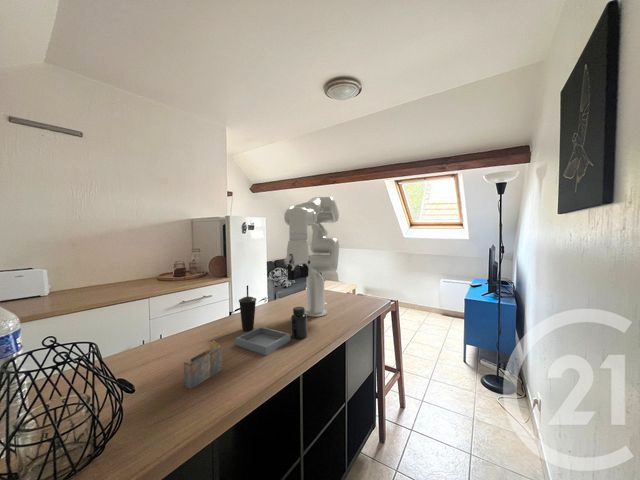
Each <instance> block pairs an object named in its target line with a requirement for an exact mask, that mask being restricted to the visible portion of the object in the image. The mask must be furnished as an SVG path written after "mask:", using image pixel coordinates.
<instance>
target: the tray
mask: <svg viewBox="0 0 640 480" xmlns="http://www.w3.org/2000/svg"><path fill="white" fill-rule="evenodd" d="M291 338H292V336H291V333H288V332H285V331H280V330H278V329H277V330H276V329H273V328H268V327H265V326H263V325H262V326H261V325H260V326H259V327H257V328H255V329H253V330H252V331H248V332H244V333H243V334H240V335H239V336H237V337H235V346H236V347H238V348H239V347H240V348H243V349H246V350H248V351H251V352H253V353H257V354H260V355H263V356H265V357H266V356H268V355H270V354H272V353H273V352H276V351H277V350H279V349H280V348H282V347H284V346H286V345H287V344H288V343H290V342H291V340H292V339H291Z"/></svg>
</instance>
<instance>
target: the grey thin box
mask: <svg viewBox="0 0 640 480" xmlns="http://www.w3.org/2000/svg"><path fill="white" fill-rule="evenodd" d="M208 345H209V348H208V349H207V350H205V351H202V352H201V353H199V354H197V355H195V356H193V357H190V362H187V361H183V372H184V373H183V377H184V378H183V380H184V383H183V384H184V388H187V389H190V390H192V389H193V388H195V387H196V386H198V385H200V384H202V383H203V382H204V381H206V380H207V379H209V378H211V377H212V376H214V375H215V374H217V373H219V372H220V371H222V370H223V369H222V366H223V365H222V361H223V360H222V347H221V345H220V344H219V343H218V342H216V341H215V340H214V339H213V340H212V341H211V342H210V341H208Z"/></svg>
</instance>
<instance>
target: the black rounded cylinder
mask: <svg viewBox="0 0 640 480" xmlns="http://www.w3.org/2000/svg"><path fill="white" fill-rule="evenodd" d="M238 302H239V311H240V319H241V321H240V322H241V328H242V331H243V332H244V333H248V332H250V331H252V330H254V328H255V326H254V325H255V316H256V315H255V314H256V303H257V298H256V297H253V296H249V285H246V296H244V297H242V298H239V299H238Z"/></svg>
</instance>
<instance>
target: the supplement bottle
mask: <svg viewBox="0 0 640 480" xmlns="http://www.w3.org/2000/svg"><path fill="white" fill-rule="evenodd" d="M305 309H306V308H305V307H304V306H294V307H293V308H292V315H291V316H290V330H291V332H290V334H291V338H293V339H294V340H303V339H305V338H307V336H308V316H307V315H306V314H305Z"/></svg>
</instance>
